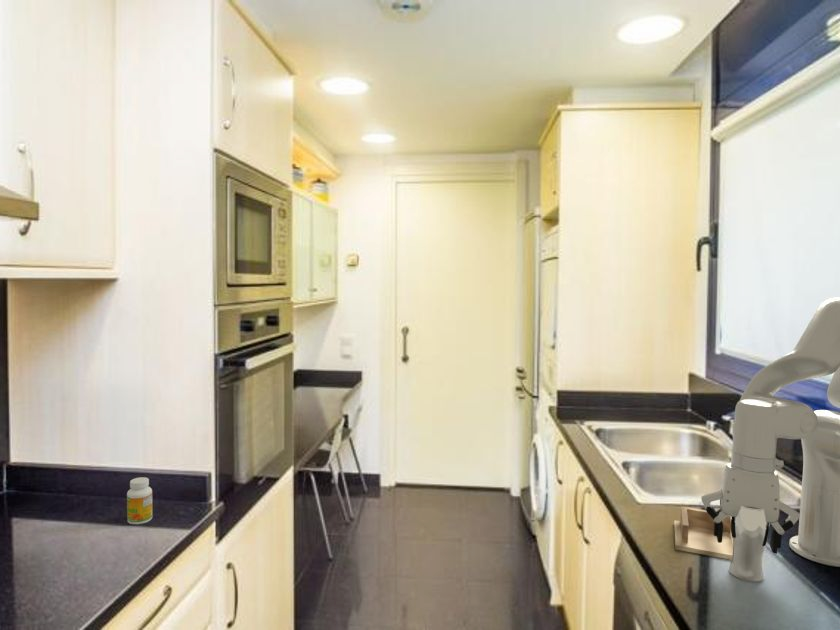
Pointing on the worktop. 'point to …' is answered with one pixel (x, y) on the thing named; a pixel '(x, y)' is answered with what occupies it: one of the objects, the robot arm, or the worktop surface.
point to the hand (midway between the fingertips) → (745, 545)
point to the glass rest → (701, 534)
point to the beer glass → (748, 543)
